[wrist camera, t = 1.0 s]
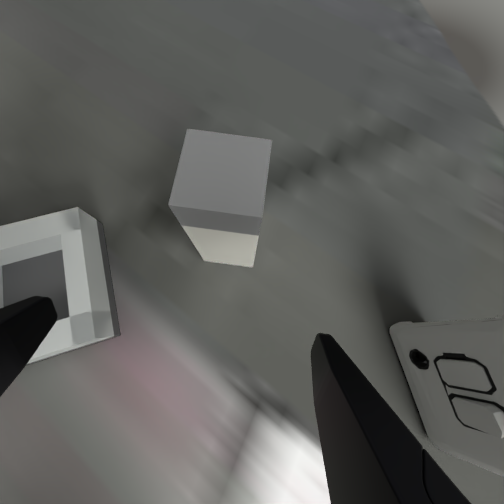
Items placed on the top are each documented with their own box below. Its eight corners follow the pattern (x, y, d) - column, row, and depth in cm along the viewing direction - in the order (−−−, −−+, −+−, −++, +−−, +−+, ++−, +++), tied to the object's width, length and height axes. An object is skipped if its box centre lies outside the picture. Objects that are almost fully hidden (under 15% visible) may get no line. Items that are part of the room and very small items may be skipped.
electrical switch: (383, 324, 21) (505, 324, 12) (431, 310, 22) (576, 301, 13) (428, 446, 18) (622, 559, 9) (479, 424, 19) (698, 509, 10)
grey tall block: (252, 267, 22) (262, 217, 11) (204, 260, 22) (168, 204, 11) (258, 222, 23) (272, 139, 12) (212, 216, 23) (187, 128, 12)
